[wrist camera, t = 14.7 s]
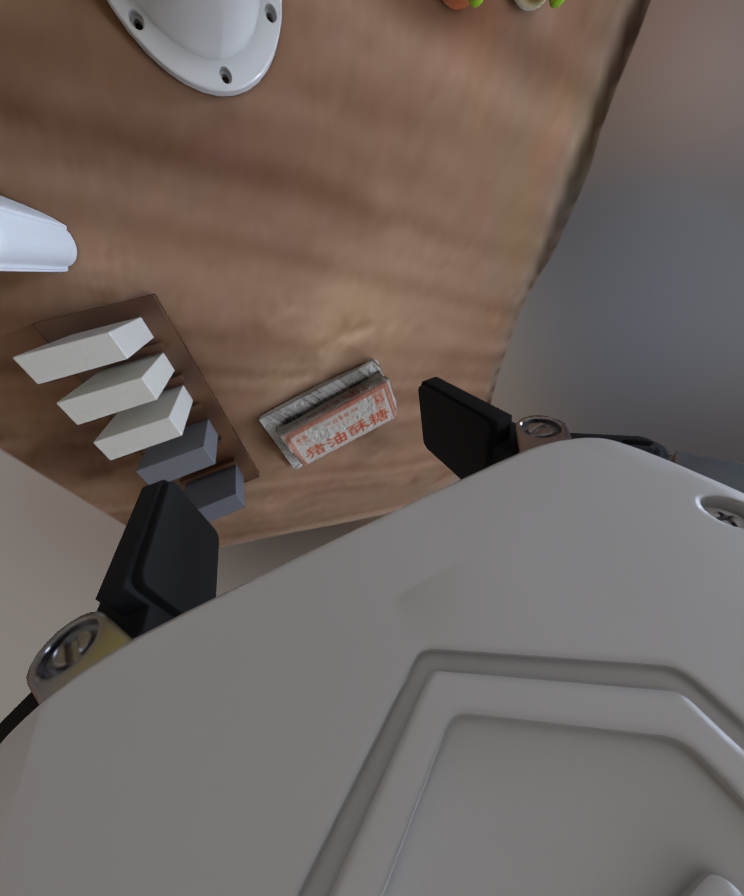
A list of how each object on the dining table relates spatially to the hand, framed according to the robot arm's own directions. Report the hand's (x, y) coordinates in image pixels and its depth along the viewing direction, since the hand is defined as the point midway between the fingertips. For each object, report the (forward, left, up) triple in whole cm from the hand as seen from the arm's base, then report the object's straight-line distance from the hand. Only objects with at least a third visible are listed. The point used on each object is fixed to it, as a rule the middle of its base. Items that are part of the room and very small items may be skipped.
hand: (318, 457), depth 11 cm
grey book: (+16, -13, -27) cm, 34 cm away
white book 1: (-4, -13, -27) cm, 30 cm away
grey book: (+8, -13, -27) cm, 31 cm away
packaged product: (+13, +5, -28) cm, 32 cm away
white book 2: (0, -13, -27) cm, 30 cm away
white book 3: (+4, -13, -27) cm, 31 cm away
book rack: (+6, -13, -28) cm, 32 cm away
